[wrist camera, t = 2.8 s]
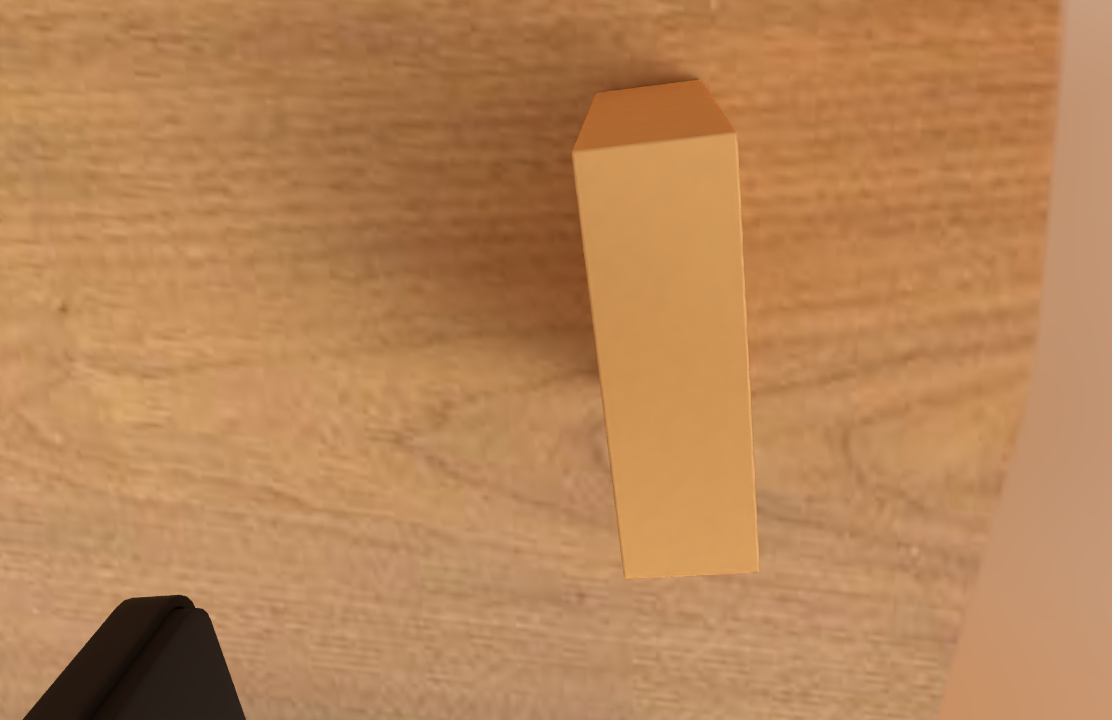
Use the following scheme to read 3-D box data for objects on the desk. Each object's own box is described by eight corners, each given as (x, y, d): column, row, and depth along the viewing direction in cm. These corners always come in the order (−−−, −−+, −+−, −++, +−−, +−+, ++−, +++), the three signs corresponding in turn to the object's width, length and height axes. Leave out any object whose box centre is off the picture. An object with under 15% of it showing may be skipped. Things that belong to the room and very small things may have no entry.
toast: (701, 78, 20) (737, 130, 13) (721, 388, 23) (760, 573, 16) (595, 92, 20) (571, 151, 13) (628, 395, 23) (624, 579, 16)
